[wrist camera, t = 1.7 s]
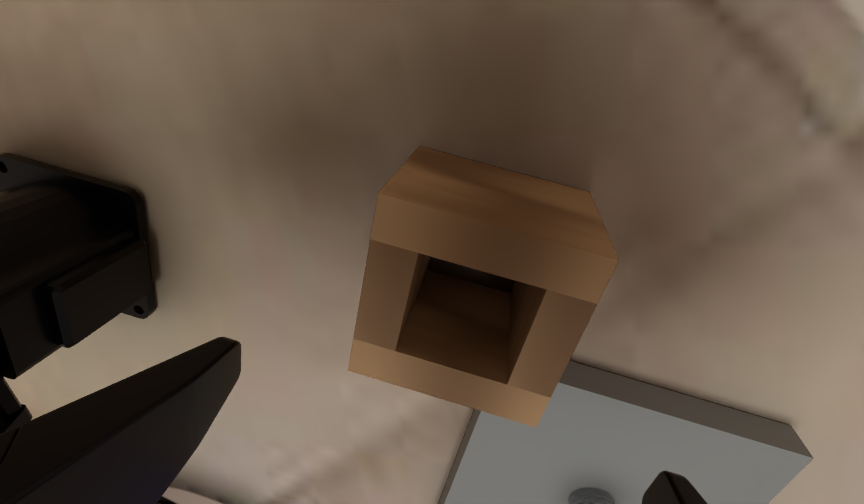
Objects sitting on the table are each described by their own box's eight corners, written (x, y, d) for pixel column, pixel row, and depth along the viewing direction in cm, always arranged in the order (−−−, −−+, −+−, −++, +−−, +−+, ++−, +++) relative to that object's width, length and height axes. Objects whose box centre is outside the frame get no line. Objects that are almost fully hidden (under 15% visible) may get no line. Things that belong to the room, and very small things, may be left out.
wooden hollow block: (390, 287, 18) (347, 370, 14) (419, 146, 15) (378, 193, 11) (532, 328, 18) (535, 427, 13) (589, 192, 15) (618, 260, 10)
